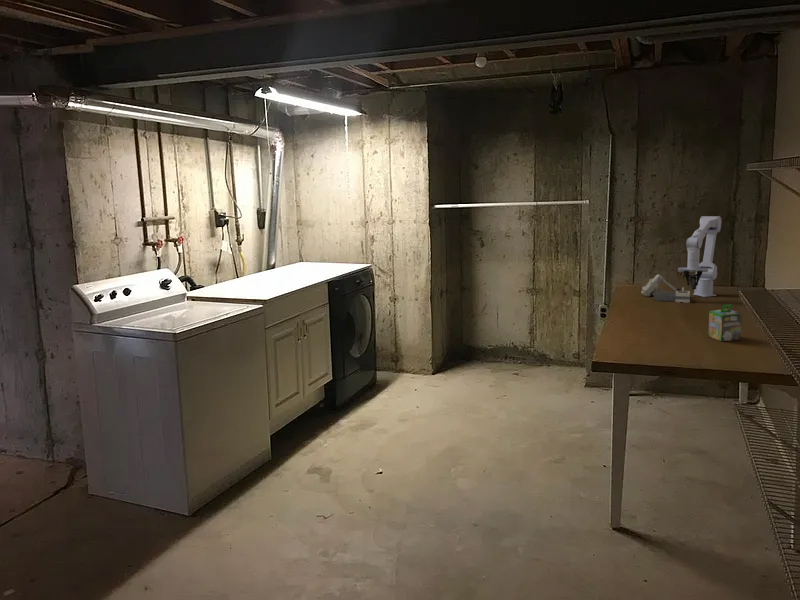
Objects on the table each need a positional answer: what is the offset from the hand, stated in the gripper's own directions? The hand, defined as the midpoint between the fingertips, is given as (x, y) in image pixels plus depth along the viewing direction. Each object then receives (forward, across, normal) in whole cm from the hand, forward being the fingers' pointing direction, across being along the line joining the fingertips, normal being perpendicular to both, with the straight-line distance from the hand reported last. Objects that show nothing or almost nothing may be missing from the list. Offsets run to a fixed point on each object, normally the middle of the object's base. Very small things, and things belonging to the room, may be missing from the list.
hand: (692, 285), depth 342 cm
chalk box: (+9, +11, -79) cm, 80 cm away
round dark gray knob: (+2, 0, 0) cm, 2 cm away
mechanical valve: (+9, -16, +16) cm, 24 cm away
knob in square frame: (+9, -10, +6) cm, 15 cm away
